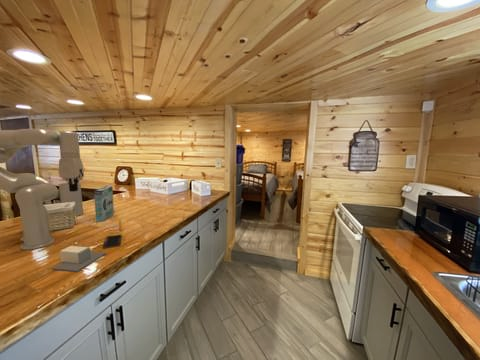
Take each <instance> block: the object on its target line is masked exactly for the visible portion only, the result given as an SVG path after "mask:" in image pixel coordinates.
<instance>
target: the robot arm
mask: <svg viewBox="0 0 480 360" xmlns="http://www.w3.org/2000/svg"><path fill="white" fill-rule="evenodd" d="M29 146H52V147H53V146H54V147H55V146H58V147H59V153H60V154H59V155H60V158H59V161H58V175H59V178H62V179H61V180H63V181H66V183H68V184H69V191H70V192H74V191H78V184H77V183H80V181H83V180H84V178H83V177H84V175H85V170H84V165H83V161H82V158H81V154H80V140H79V134H78V132H76V131H71V130H60V131H59V130H54V129H53V130H51V129H45V128H19V129H7V130H6V129H1V130H0V164H6V163H8V162H9V161H11V160H12V159H13V157H15V156H16V155H17V153H19V151H21V149H22V148H27V147H29ZM0 190H1V191H3V192H5V193H10V194H13V193H15V195H14V196H15V202H16V203H17V205H18V208H19V213H21V216H20V217H21V226H22V231H23V232H22V234H23V237H21V238H20V241H21V242H22V241H23V243H22V244H21V245H20V249H21V250H22V251H23V250H25V251H27V250H28V251H29V250H34V249H35V250H36V249H41V248H44V247H47V246H49V245H52V244H53V243H55V241H56V239H55V238H54V237H51V231H50V230H49V221H48V213H47V209H46V207H45V206H44V205H45V204H44V203H45V202H48V201H52V200H54V199H56V198H57V197H58V196H59V189H58V188H57V186H56V185H55V184H53V183H52V182H49V181H48V180H47V179H44V178H43V177H41V176H39V175H38V174H34V173H31V172H22V173H14V172H11V171H9V170H6V169H5V168H4V167H2V166H0Z"/></svg>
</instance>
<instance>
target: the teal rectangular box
mask: <svg viewBox="0 0 480 360" xmlns="http://www.w3.org/2000/svg"><path fill="white" fill-rule="evenodd" d="M113 194H114V193H113V186H112V185H105V186H103V187H100V188H98V189H95V190H94V191H93V196H94V197H93V198H94V211H95V214H94V215H95V222H96V223H101V222H105V221H107V220H108V219H109V218H110V217H112V215H114V214H115V207H114V195H113Z"/></svg>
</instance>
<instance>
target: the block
mask: <svg viewBox="0 0 480 360" xmlns="http://www.w3.org/2000/svg"><path fill="white" fill-rule="evenodd" d="M90 251H91V247H88V246H75V245H70V246H67V247H66V248H64V249H61V250H60V251H59V254H60V255H59V256H60V257H59V258H60V262H61V263H63V262H71V263H83V262H84V261H86V260H88V259H89V258H91V253H90Z"/></svg>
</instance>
